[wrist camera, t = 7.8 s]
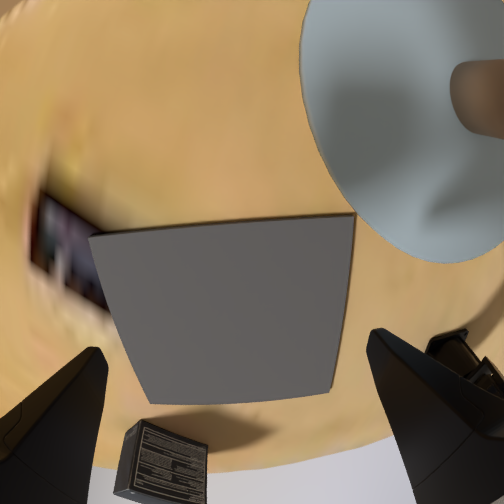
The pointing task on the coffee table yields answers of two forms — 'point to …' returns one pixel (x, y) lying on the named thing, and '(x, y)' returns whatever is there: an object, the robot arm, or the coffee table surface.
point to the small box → (161, 467)
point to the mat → (229, 306)
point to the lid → (411, 117)
